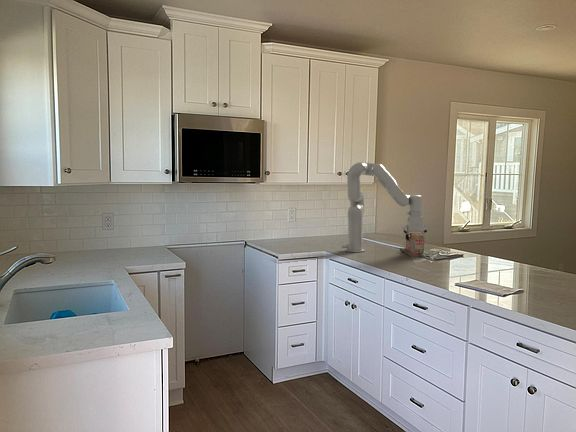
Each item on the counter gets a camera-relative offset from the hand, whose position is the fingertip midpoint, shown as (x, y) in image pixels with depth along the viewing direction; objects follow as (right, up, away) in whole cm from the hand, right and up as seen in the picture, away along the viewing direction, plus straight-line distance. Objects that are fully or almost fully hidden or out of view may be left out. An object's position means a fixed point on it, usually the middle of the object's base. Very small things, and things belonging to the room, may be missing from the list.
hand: (414, 240), depth 303 cm
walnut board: (0, -9, +1) cm, 9 cm away
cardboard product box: (0, -7, +2) cm, 8 cm away
